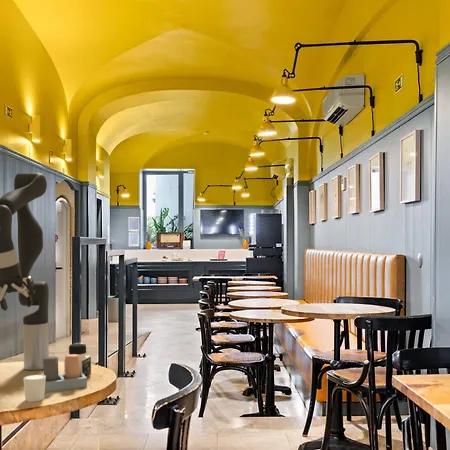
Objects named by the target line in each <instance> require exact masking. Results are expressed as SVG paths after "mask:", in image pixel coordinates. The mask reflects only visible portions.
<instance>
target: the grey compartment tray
mask: <svg viewBox="0 0 450 450" xmlns="http://www.w3.org/2000/svg"><path fill="white" fill-rule="evenodd" d="M64 360H65V374H64V373H61V374H58V380H56V381H48V382H45V393H48V392H56V391H63V390H65V391H66V390H72V389H81V388H82V389H83V388H87V387H88V377H86V376H85V375H84V374H83V373H82V372H80V355H77V354H71V355H69V354H66V355H65V356H64Z"/></svg>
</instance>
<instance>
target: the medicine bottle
mask: <svg viewBox="0 0 450 450" xmlns="http://www.w3.org/2000/svg"><path fill="white" fill-rule="evenodd" d="M71 354H77V355H80V372H82V373H83V374H84V375H85V376H86V377H87V378H88V377H90V376H91V375H92V357H91V355H87V345H86V344H85V343H82V342H76V343H72V344H70V345H68V355H71ZM63 363H64V366H63V367H64V368H63V369H64V371H63V372H64V373H63V374H65V359H64V360H63Z"/></svg>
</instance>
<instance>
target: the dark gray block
mask: <svg viewBox="0 0 450 450" xmlns="http://www.w3.org/2000/svg"><path fill="white" fill-rule="evenodd" d="M42 370H43V372H42V373H43V375H45V376H46V382H48V381H56V380H58V375H59V357H58V356H49V357H46V358H43V369H42Z"/></svg>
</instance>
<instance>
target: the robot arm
mask: <svg viewBox="0 0 450 450" xmlns="http://www.w3.org/2000/svg"><path fill="white" fill-rule="evenodd" d="M47 187H48V184H47V178H46V176H45V175H44V174H43V173H41V172H19V173H16V175H15V176H14V180H13V188H14V189H13V190H11V191H8V192H7V193H5V194H3V195H2V196H1V197H0V288H1V289H2V290H1V292H0V308H1V310H3V311H7V310H8V309H9V307H8V303H7V300H6V298H5V297H6V295H7V293H8V294H10V293H18V302H19V303H20V304H19V305H21V306H25V307H26V306H27V308H30V307H34V306H38V309H37V310H36V311H33V312H31V313H29V314H26V315H25V316H23V319H22V321H23V322H22V325H23V326H22V327H23V328H22V329H23V332H22V334H23V369H24V370H27V371H37V370H43V358H46V357H50V353H49V352H50V349H49V348H50V347H49V344H50V343H49V296H50V295H49V294H50V292H49V291H50V290H49V285H48V282H47V281H34V280H33V277H32V276H31V275H30V272H31V270H32V268H33V266H34V264H35V263H36V261H37V260H38V259H39V257H40V255H41V254H42V251H43V249H44V233H43V229H42V227H41V225H40V223H39V222H38V220H37V218H36V217H35V216H34V214H33V213H32V211H31V209H30V205H29V203H30V202H32V201H34V200H36V199H38V198H40V197H42V196H43V195H44V194H45V193H46V191H47ZM14 214H16V217H17V218H16V219H17V222H16V223H17V251H18V254H17V252H16V250H15V249H16V248H15V245H14V242H13V237H12V232H13V231H12V225H13V215H14Z"/></svg>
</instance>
